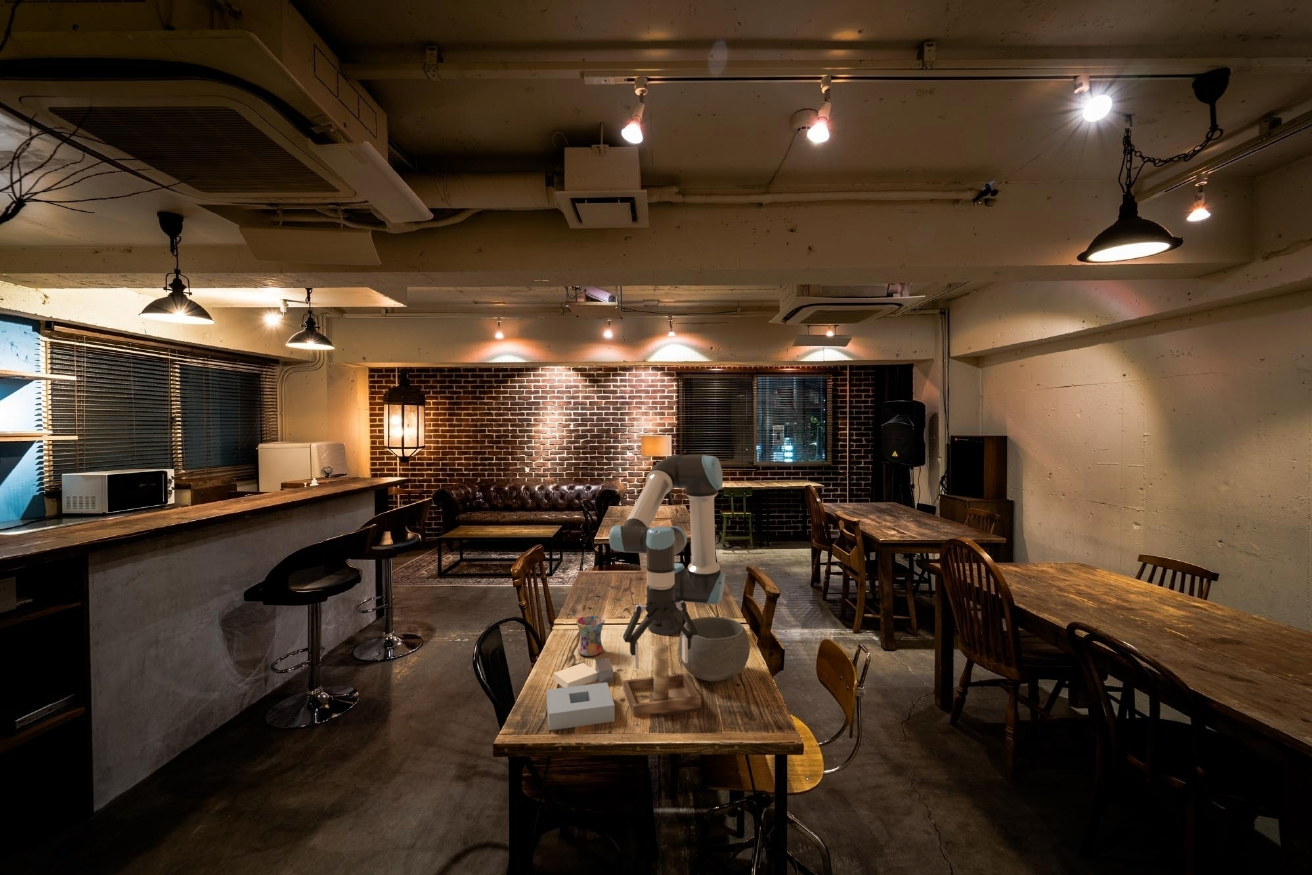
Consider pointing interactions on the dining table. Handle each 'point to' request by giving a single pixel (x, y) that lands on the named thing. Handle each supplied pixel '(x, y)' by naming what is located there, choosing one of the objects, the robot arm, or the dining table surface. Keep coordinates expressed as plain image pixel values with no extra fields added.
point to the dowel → (661, 672)
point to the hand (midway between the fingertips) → (660, 663)
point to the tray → (679, 696)
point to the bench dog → (604, 670)
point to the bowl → (716, 648)
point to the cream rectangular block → (575, 676)
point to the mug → (590, 635)
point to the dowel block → (579, 706)
